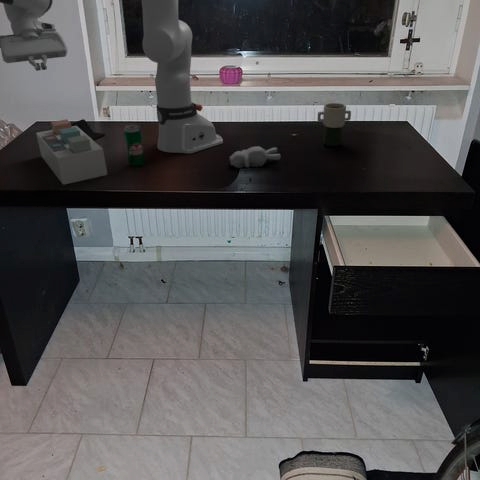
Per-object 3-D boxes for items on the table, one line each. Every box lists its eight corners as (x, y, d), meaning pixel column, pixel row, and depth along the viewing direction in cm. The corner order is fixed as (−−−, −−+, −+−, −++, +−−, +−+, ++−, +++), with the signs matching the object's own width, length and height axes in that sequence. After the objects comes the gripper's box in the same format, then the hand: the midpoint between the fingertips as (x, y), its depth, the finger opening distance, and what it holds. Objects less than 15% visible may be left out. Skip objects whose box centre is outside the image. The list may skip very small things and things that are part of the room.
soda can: (131, 168, 151) (126, 130, 145) (126, 163, 155) (121, 125, 149) (147, 165, 153) (142, 127, 147) (142, 160, 157) (137, 123, 151)
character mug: (345, 140, 168) (348, 102, 162) (351, 147, 162) (354, 107, 156) (314, 141, 168) (316, 103, 161) (318, 148, 162) (320, 109, 155)
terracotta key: (69, 132, 162) (66, 119, 160) (73, 136, 158) (70, 123, 156) (54, 135, 160) (51, 122, 158) (57, 139, 156) (54, 125, 154)
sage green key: (87, 149, 147) (84, 135, 145) (92, 154, 143) (89, 139, 141) (70, 153, 145) (67, 138, 143) (74, 158, 141) (71, 142, 139)
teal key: (77, 140, 155) (75, 126, 152) (82, 145, 151) (79, 130, 149) (61, 144, 152) (58, 129, 150) (65, 148, 149) (62, 133, 146)
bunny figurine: (227, 148, 153) (275, 140, 153) (230, 163, 155) (277, 155, 156) (230, 159, 145) (280, 150, 145) (233, 175, 147) (282, 166, 148)
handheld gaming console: (89, 141, 170) (72, 116, 169) (77, 152, 173) (59, 128, 172) (107, 135, 180) (91, 112, 179) (95, 146, 184) (78, 123, 182)
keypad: (81, 148, 168) (76, 124, 164) (107, 174, 147) (102, 147, 143) (41, 156, 162) (35, 131, 158) (63, 184, 141) (57, 156, 137)
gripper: (-7, 29, 155) (6, 66, 152) (59, 24, 164) (73, 59, 161) (-5, 43, 160) (8, 79, 158) (58, 37, 169) (72, 71, 167)
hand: (41, 69), depth 160 cm, fingers closed
